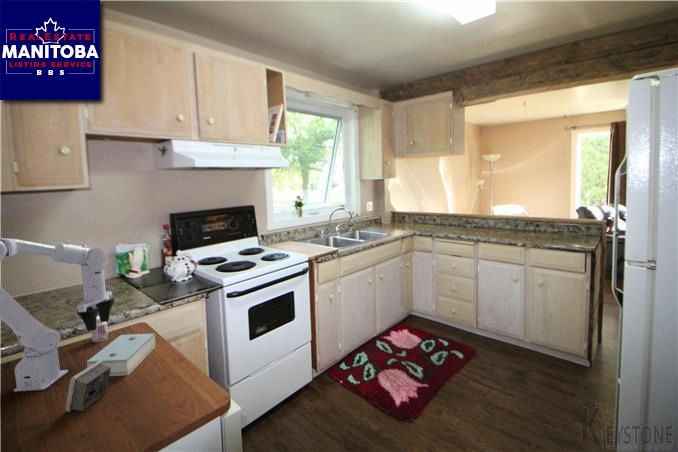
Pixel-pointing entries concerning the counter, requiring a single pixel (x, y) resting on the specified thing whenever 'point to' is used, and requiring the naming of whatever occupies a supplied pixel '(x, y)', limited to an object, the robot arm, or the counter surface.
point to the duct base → (127, 367)
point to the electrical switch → (87, 386)
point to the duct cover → (121, 348)
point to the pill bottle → (100, 331)
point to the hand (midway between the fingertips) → (98, 325)
